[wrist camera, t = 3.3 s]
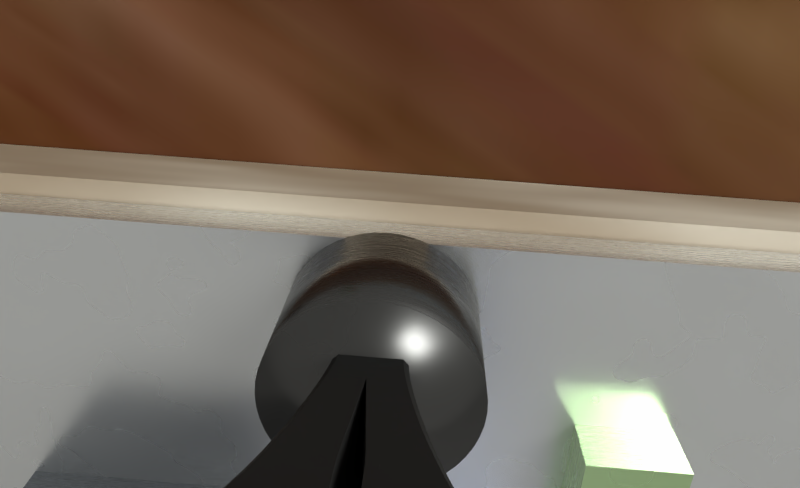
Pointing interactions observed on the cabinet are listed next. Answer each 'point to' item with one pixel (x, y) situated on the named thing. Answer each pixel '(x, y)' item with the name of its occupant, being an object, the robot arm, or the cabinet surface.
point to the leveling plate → (549, 347)
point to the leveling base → (401, 198)
